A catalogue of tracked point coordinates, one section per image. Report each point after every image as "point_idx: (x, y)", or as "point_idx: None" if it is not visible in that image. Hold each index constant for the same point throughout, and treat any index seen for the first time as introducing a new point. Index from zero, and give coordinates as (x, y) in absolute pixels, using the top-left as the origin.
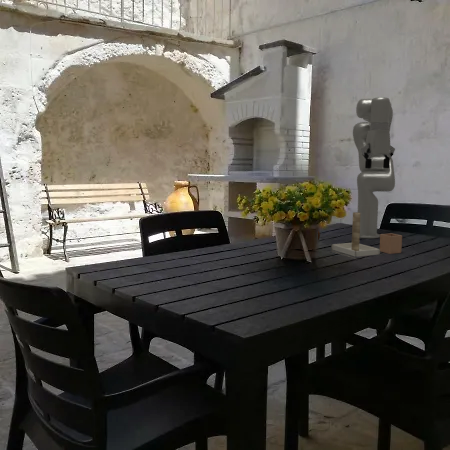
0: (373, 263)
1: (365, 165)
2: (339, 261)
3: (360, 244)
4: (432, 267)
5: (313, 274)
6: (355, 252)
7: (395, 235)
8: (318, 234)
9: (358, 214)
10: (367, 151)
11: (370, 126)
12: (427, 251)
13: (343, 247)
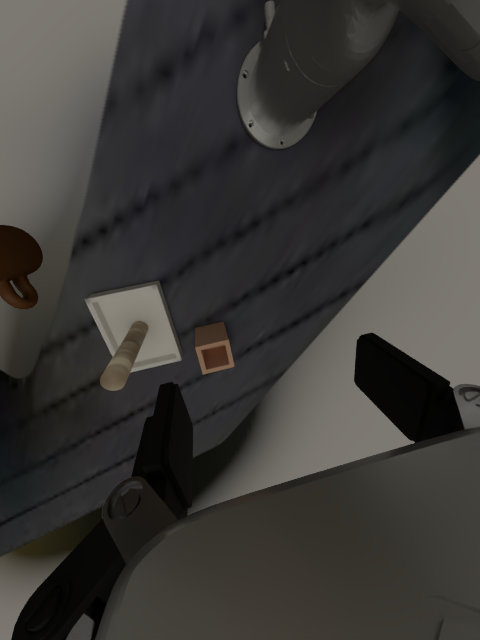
0: (147, 394)
1: (147, 421)
2: (87, 377)
3: (160, 310)
4: (226, 418)
5: (19, 445)
6: None
7: (227, 353)
8: (26, 308)
9: (116, 388)
10: (187, 584)
11: None
12: (295, 324)
13: (106, 335)
